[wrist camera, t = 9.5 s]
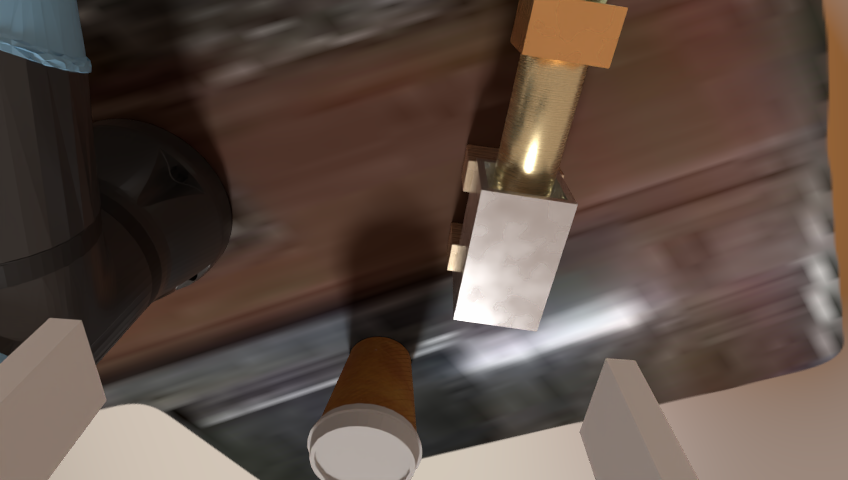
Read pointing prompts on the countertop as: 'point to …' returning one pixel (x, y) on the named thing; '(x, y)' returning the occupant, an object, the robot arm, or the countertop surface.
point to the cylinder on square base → (550, 85)
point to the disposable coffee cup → (369, 418)
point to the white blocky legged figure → (505, 247)
